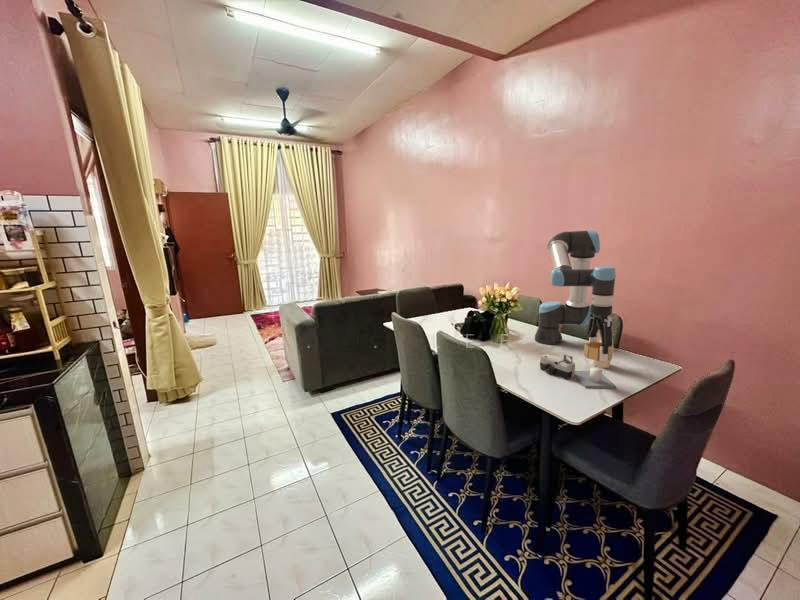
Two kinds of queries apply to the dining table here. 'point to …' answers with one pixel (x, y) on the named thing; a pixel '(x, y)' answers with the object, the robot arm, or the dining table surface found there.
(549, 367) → the camera
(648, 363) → the dining table surface
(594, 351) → the ring
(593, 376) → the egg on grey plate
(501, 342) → the dining table surface
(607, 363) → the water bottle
